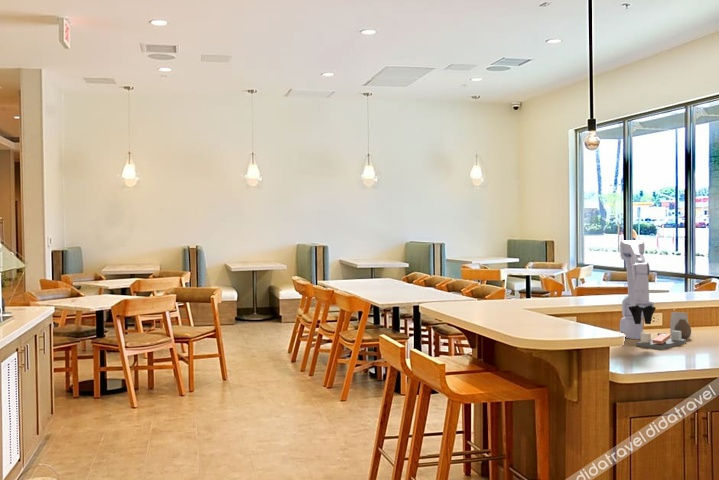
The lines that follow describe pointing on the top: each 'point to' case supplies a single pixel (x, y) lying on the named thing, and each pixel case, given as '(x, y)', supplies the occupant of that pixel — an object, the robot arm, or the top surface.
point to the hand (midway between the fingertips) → (642, 324)
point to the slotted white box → (676, 335)
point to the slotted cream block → (645, 337)
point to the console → (661, 346)
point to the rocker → (661, 338)
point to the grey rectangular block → (677, 319)
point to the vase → (683, 328)
